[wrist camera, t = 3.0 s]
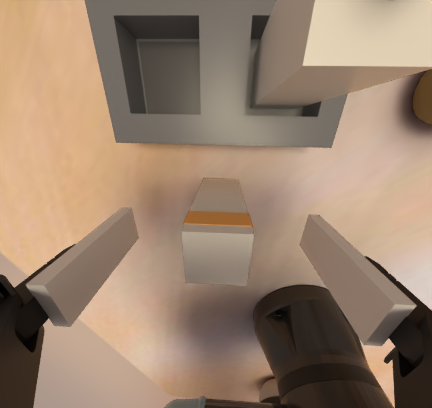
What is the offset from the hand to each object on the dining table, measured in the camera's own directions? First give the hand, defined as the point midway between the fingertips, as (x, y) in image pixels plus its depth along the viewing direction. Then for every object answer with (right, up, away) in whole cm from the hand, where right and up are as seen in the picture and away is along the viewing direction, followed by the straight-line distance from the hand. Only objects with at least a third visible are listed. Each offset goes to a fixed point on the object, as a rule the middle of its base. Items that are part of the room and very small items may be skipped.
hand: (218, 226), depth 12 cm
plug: (0, +3, +7) cm, 8 cm away
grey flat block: (+1, +13, +3) cm, 13 cm away
